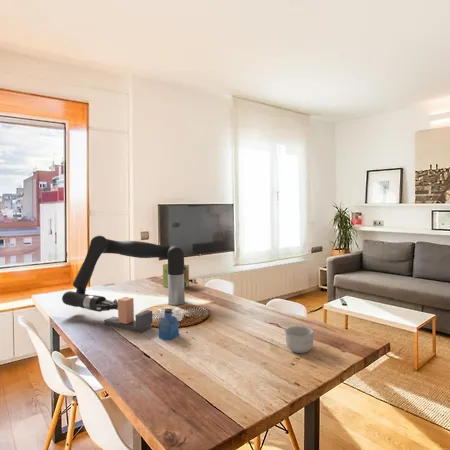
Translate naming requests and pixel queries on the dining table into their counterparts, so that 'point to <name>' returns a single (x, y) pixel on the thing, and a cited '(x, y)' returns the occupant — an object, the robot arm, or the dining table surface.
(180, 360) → the dining table surface
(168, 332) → the perfume bottle
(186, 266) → the protein box
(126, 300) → the carriage
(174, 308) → the white brass knuckles
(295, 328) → the teacup
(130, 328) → the rail
